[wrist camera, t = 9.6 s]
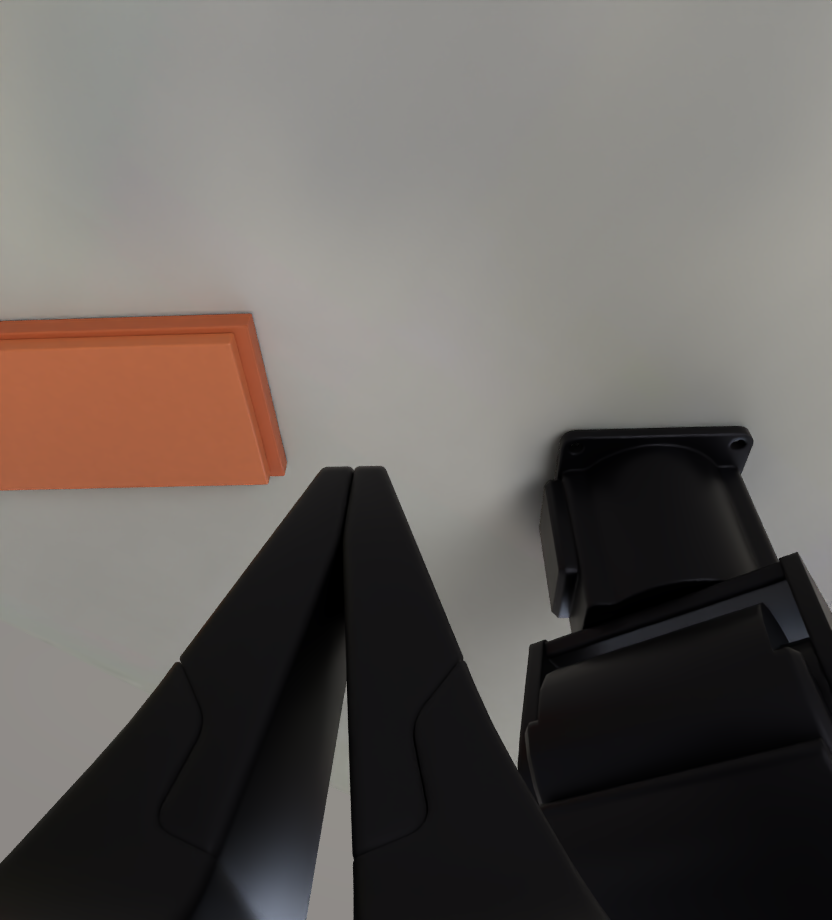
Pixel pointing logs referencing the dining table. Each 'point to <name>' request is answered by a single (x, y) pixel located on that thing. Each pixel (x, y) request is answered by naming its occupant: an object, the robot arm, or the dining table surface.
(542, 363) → the dining table surface
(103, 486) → the orange flat bar
